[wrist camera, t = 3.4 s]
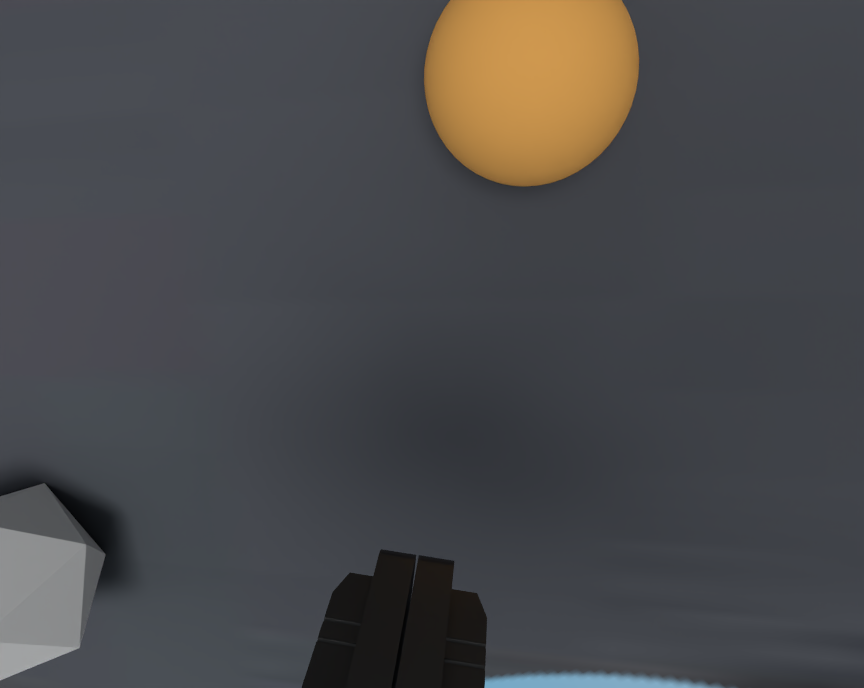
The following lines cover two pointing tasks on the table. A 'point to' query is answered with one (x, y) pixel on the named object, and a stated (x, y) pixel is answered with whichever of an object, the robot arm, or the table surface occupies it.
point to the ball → (530, 84)
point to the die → (43, 579)
